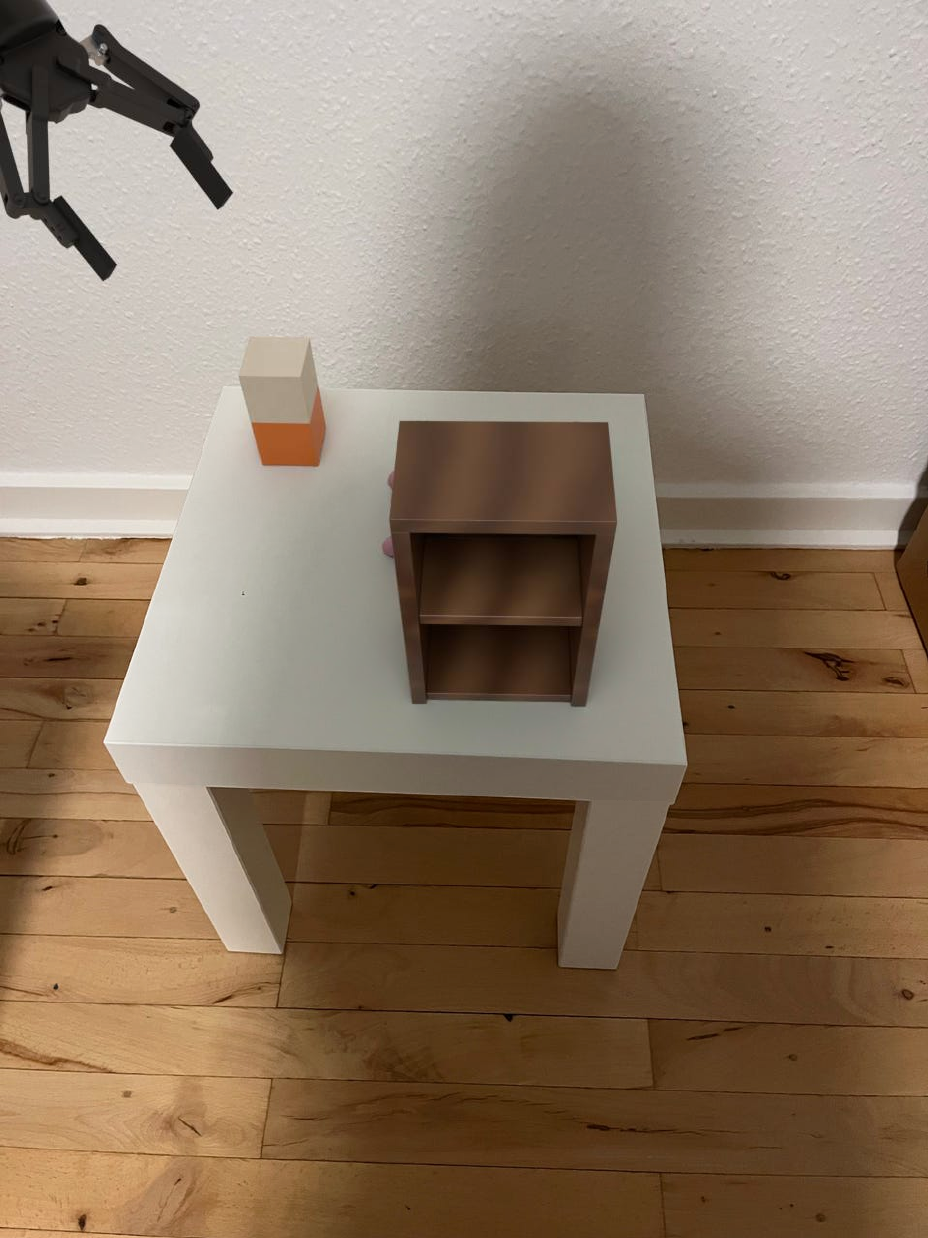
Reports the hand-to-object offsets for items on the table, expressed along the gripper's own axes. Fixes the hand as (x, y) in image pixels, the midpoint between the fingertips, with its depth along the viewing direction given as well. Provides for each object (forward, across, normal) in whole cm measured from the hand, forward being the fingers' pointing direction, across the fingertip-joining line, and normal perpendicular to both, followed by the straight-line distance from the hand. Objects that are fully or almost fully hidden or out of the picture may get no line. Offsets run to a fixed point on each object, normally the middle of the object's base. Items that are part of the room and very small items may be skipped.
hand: (170, 236), depth 81 cm
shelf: (+43, -9, -16) cm, 47 cm away
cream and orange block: (+21, 0, +6) cm, 22 cm away
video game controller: (+33, -1, -6) cm, 33 cm away
